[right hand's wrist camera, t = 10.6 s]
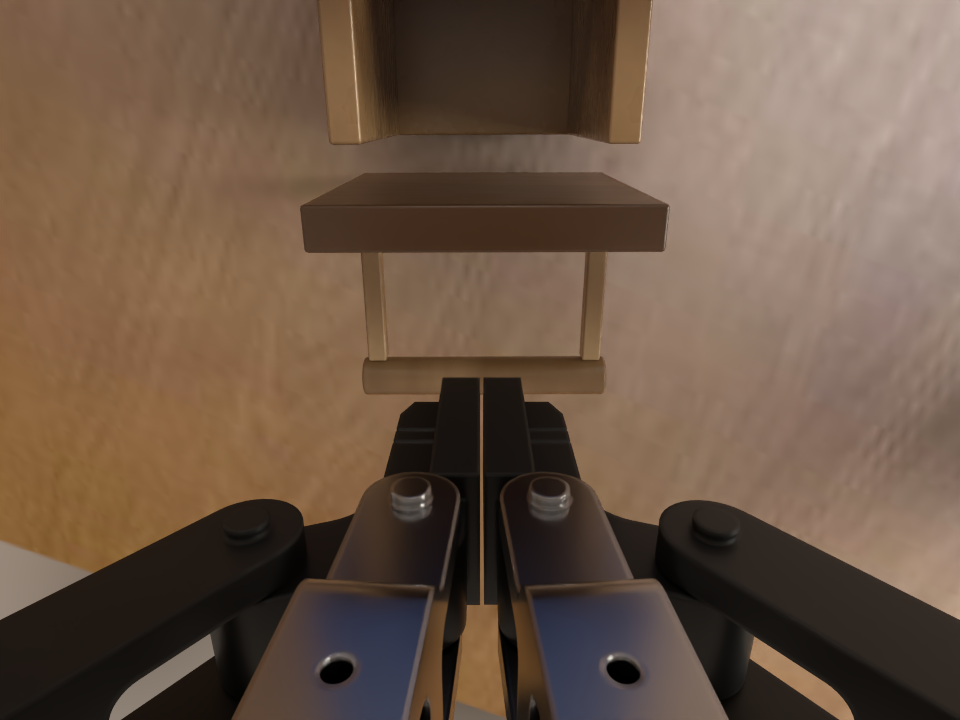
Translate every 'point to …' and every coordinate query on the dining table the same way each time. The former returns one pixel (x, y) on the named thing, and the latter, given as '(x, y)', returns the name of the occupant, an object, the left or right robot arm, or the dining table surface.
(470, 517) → the right robot arm
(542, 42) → the drawer
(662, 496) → the dining table surface
